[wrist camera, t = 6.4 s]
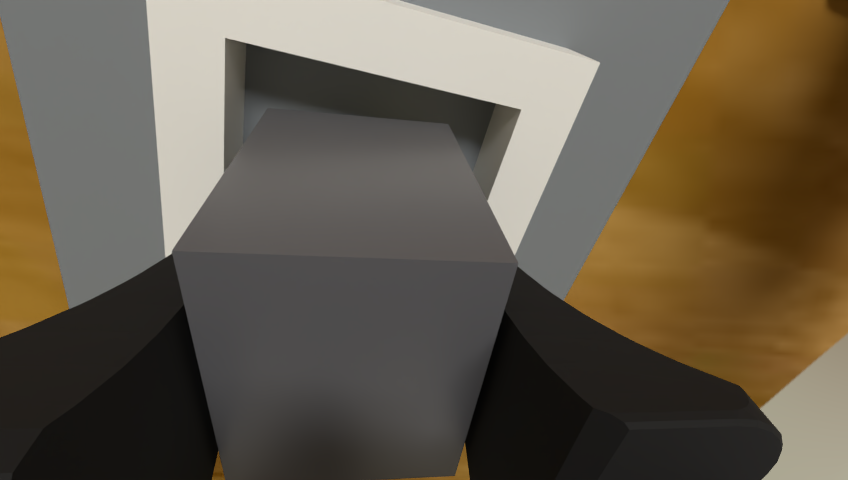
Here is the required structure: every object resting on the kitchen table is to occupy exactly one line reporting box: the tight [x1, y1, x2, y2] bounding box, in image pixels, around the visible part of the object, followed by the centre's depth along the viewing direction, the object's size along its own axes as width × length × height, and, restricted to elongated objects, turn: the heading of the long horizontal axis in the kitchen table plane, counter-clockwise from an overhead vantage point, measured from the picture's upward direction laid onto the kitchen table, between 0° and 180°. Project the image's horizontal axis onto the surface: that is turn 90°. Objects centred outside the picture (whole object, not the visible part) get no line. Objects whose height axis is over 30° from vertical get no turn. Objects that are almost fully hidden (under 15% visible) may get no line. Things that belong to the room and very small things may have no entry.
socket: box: [0, 0, 729, 309], centre depth 13 cm, size 18×18×3 cm
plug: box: [172, 108, 518, 480], centre depth 10 cm, size 4×5×7 cm
